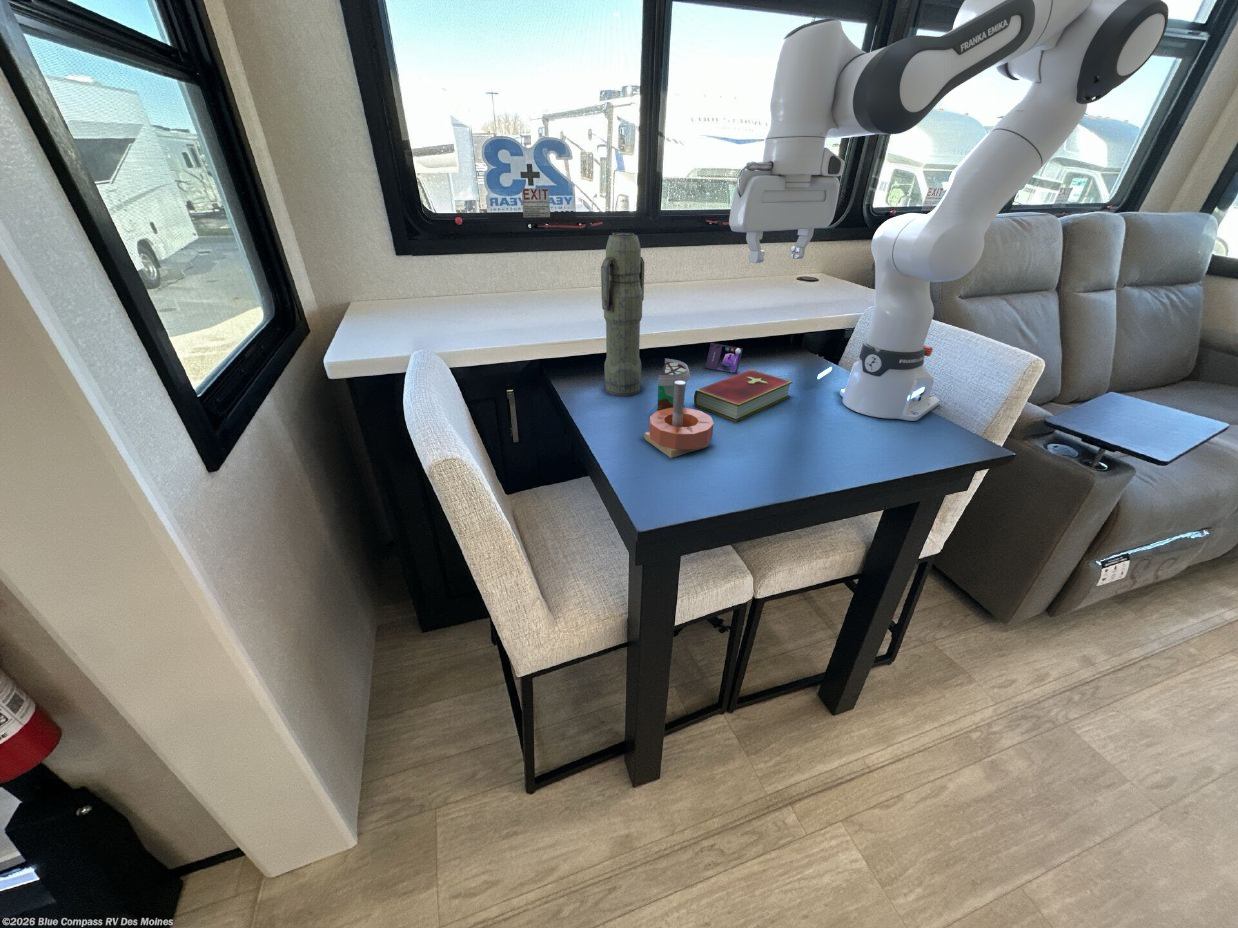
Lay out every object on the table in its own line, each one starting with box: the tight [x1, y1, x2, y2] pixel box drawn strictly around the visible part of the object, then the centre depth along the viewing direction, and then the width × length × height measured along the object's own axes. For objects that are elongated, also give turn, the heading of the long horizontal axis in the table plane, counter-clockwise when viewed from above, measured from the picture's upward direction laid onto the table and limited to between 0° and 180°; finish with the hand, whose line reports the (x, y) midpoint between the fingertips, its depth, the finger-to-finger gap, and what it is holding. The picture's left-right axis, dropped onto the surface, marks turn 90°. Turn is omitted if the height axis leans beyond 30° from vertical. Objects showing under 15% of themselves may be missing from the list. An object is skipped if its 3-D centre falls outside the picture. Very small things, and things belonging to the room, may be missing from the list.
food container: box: [657, 358, 691, 411], centre depth 106 cm, size 12×6×10 cm, turn 168°
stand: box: [644, 381, 710, 459], centre depth 92 cm, size 9×9×12 cm
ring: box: [648, 407, 715, 449], centre depth 94 cm, size 12×12×3 cm
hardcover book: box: [693, 369, 793, 423], centre depth 112 cm, size 12×21×4 cm, turn 132°
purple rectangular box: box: [705, 342, 743, 374], centre depth 133 cm, size 7×5×9 cm
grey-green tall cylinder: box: [600, 232, 645, 397], centre depth 111 cm, size 9×12×35 cm
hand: (776, 260), depth 80 cm, fingers open, 8 cm apart
